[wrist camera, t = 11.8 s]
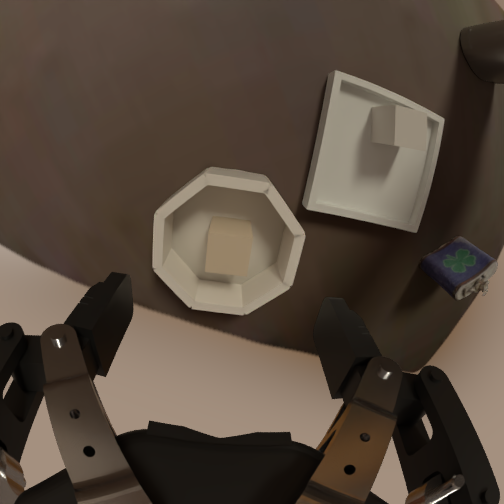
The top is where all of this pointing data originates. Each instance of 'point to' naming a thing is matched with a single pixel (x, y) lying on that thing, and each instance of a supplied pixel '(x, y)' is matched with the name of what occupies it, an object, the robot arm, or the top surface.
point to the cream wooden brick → (229, 246)
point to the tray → (368, 159)
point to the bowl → (196, 238)
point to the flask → (459, 268)
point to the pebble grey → (399, 127)
